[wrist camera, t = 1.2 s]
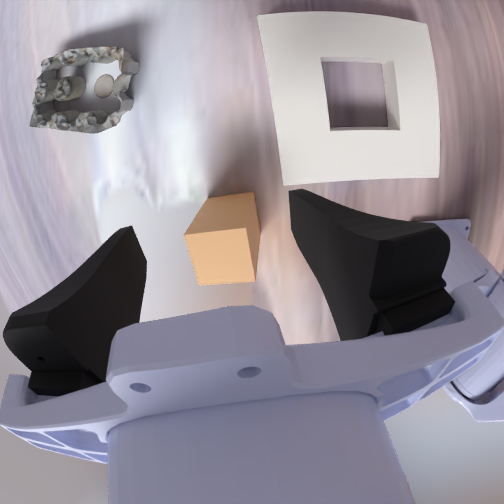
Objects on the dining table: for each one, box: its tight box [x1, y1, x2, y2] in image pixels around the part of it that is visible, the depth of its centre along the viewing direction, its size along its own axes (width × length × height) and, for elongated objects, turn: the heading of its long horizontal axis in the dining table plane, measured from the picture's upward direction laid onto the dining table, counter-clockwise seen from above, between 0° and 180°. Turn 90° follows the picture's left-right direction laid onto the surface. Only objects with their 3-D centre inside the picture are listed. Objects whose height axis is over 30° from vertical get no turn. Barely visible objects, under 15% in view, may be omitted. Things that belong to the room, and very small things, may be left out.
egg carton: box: [30, 47, 140, 133], centre depth 16 cm, size 11×8×4 cm
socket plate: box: [257, 11, 440, 186], centre depth 16 cm, size 13×13×2 cm
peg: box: [184, 192, 260, 285], centre depth 21 cm, size 4×4×7 cm
